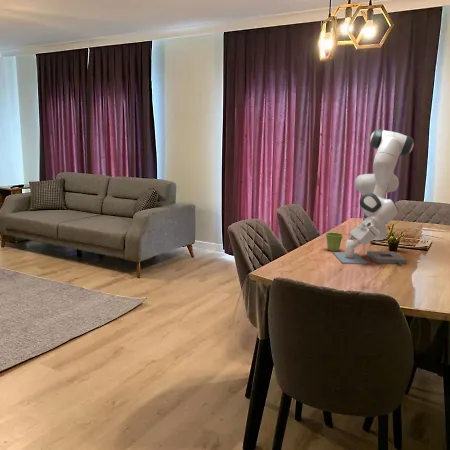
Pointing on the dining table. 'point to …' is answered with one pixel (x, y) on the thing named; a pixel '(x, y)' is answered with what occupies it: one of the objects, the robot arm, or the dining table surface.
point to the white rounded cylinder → (349, 249)
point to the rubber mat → (343, 260)
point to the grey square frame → (386, 257)
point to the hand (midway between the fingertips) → (349, 245)
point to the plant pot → (333, 241)
